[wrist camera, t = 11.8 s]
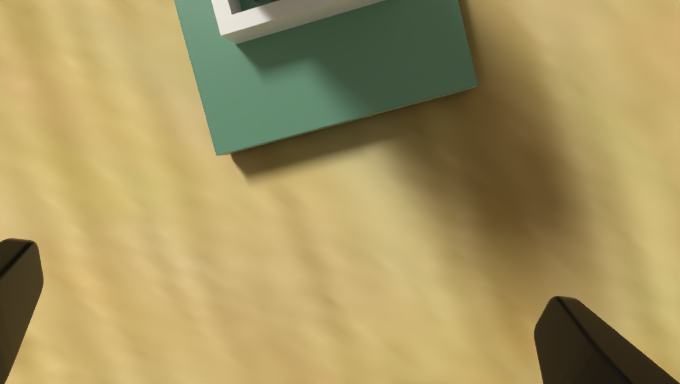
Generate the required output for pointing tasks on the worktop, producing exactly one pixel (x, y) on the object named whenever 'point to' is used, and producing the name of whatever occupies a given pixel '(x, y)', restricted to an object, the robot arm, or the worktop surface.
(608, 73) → the worktop surface
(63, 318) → the worktop surface
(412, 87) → the board
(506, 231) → the worktop surface
